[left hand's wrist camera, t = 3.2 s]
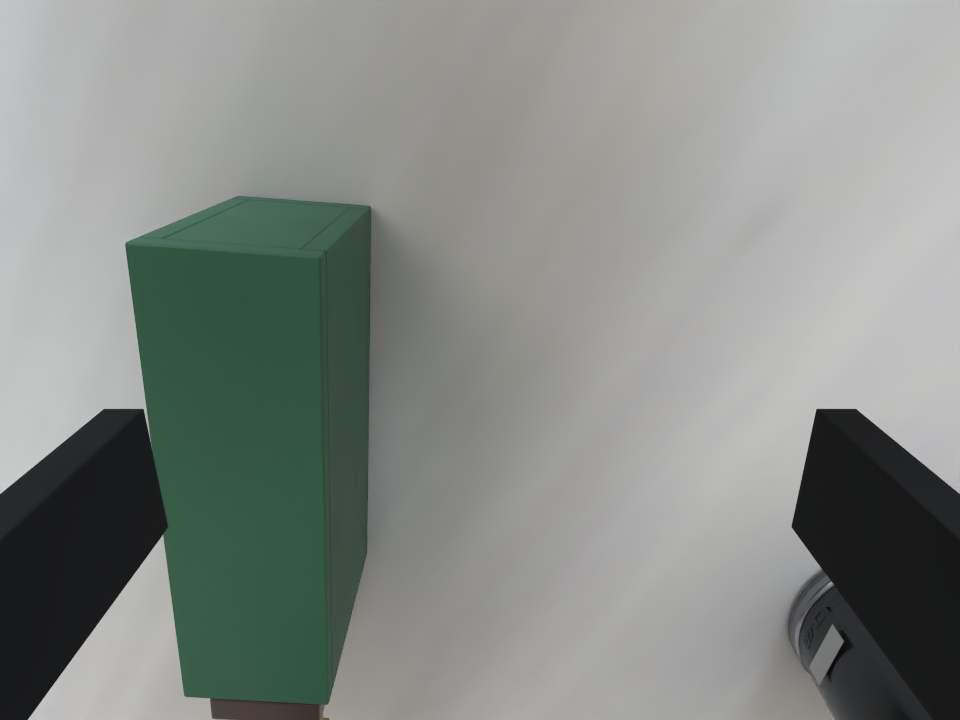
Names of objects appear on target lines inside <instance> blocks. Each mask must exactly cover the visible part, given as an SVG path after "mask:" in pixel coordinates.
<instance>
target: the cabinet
mask: <svg viewBox="0 0 960 720" xmlns="http://www.w3.org/2000/svg"><path fill="white" fill-rule="evenodd" d="M125 246H126V253H127V261H128V269H129V276H130V284H131V292H132V299H133V307H134V314H135V322H136V330H137V337H138V345H139V353H140V360H141V368H142V375H143V383H144V391H145V398H146V406H147V414H148V421H149V429H150V437H151V444H152V452H153V457H154V461H155V466H156V471H157V476H158V480H159V485H160V490H161V494H162V499H163V504H164V509H165V513H166V518H167V523H168V528H167V530H166V531H165V532H164V534H163V536H164V543H165V551H166V559H167V566H168V574H169V581H170V589H171V597H172V604H173V612H174V620H175V627H176V635H177V643H178V650H179V658H180V665H181V673H182V681H183V688H184V696H186V697H199V698H216V699H234V700H251V701H269V702H286V703H304V704H321V705H327V704H328V703H329V700H330V696H331V692H332V688H333V685H334V681H335V677H336V673H337V669H338V665H339V661H340V657H341V653H342V649H343V645H344V641H345V637H346V633H347V629H348V626H349V622H350V618H351V614H352V610H353V606H354V602H355V598H356V594H357V590H358V586H359V582H360V578H361V574H362V570H363V566H364V562H365V558H366V554H367V502H368V418H369V334H370V249H371V207H370V206H361V205H348V204H335V203H322V202H309V201H296V200H283V199H269V198H256V197H243V196H237V197H235V198H232V199H230V200H227V201H225V202H222V203H220V204H218V205H215V206H213V207H210V208H208V209H206V210H203V211H201V212H198V213H196V214H193V215H191V216H189V217H186V218H184V219H181V220H179V221H176V222H174V223H172V224H169V225H167V226H164V227H162V228H160V229H157V230H155V231H152V232H150V233H147V234H145V235H143V236H140V237H139V238H135V239H133V240H130V241H128V242H126V244H125Z"/></svg>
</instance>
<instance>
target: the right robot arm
mask: <svg viewBox="0 0 960 720" xmlns="http://www.w3.org/2000/svg"><path fill="white" fill-rule="evenodd" d="M789 637H790V641H791V644H792V647H793V649H794V651H795V653H796V654H797V656H798V658H799V660H800V662H801V663H802V665H803V667H804V668H805V669H806V671H807V672H808V673H809V674H810V675H811V677H812V679H813V681H814V682H815V684H816V686H817V688H818V689H819V691H820V693H821V695H822V697H823V698H824V700H825V702H826V704H827V706H828V708H829V710H830V711H831V713H832V715H833V717H834V719H835V720H932V718H931V717H930V716H929V714H928V713H927V712H926V710H925V709H924V708H923V706H922V705H921V703H920V702H919V701H918V699H917V698H916V697H915V695H914V694H913V692H912V691H911V690H910V688H909V687H908V686H907V684H906V683H905V682H904V680H903V679H902V677H901V676H900V675H899V673H898V672H897V671H896V669H895V668H894V666H893V665H892V664H891V662H890V661H889V660H888V658H887V657H886V656H885V654H884V653H883V651H882V650H881V649H880V647H879V646H878V645H877V643H876V642H875V640H874V639H873V638H872V636H871V635H870V634H869V632H868V631H867V630H866V628H865V627H864V625H863V624H862V623H861V621H860V620H859V619H858V617H857V616H856V615H855V613H854V612H853V610H852V609H851V608H850V606H849V605H848V604H847V602H846V601H845V599H844V598H843V597H842V595H841V594H840V593H839V591H838V590H837V589H836V587H835V586H834V584H833V583H832V582H831V580H830V579H829V578H828V576H827V575H826V573H825V572H823V573H822V574H821V575H819V576H818V577H817V578H816V579H814V580H813V581H812V582H811V583H810V584H809V585H808V586H807V588H806V589H805V590H804V591H803V592H802V594H801V595H800V596H799V598H798V600H797V601H796V603H795V605H794V607H793V610H792V613H791V616H790V621H789Z"/></svg>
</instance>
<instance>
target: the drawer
mask: <svg viewBox="0 0 960 720" xmlns="http://www.w3.org/2000/svg"><path fill="white" fill-rule="evenodd" d="M210 702H211V711H212V718H213V719H226V720H329V718H323V710H324V706H325V705H321V704H304V703H286V702H269V701H251V700H234V699H216V698H211V699H210Z"/></svg>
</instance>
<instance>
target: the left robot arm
mask: <svg viewBox="0 0 960 720" xmlns="http://www.w3.org/2000/svg"><path fill="white" fill-rule="evenodd" d="M167 528H168V523H167V518H166V513H165V509H164V504H163V499H162V494H161V490H160V485H159V480H158V476H157V471H156V466H155V461H154V457H153V452H152V447H151V443H150V438H149V433H148V428H147V424H146V419H145V414H144V410H143V409H104V410H102V411H101V412H100V413H99V414H97V415H96V416H95V417H94V418H93V419H91V420H90V421H89V422H88V423H87V424H85V425H84V426H83V427H82V428H80V429H79V430H78V431H77V432H76V433H74V434H73V435H72V436H71V437H69V438H68V439H67V440H66V441H65V442H63V443H62V444H61V445H60V446H58V447H57V448H56V449H55V450H54V451H52V452H51V453H50V454H49V455H48V456H46V457H45V458H44V459H43V460H41V461H40V462H39V463H38V464H37V465H35V466H34V467H33V468H32V469H30V470H29V471H28V472H27V473H26V474H24V475H23V476H22V477H21V478H19V479H18V480H17V481H16V482H15V483H13V484H12V485H11V486H10V487H9V488H7V489H6V490H5V491H4V492H2V493H1V494H0V720H28V718H29V717H30V716H31V714H32V713H33V712H34V710H35V709H36V708H37V706H38V705H39V703H40V702H41V701H42V699H43V698H44V697H45V695H46V694H47V692H48V691H49V690H50V688H51V687H52V686H53V684H54V683H55V682H56V680H57V679H58V677H59V676H60V675H61V673H62V672H63V671H64V669H65V668H66V666H67V665H68V664H69V662H70V661H71V660H72V658H73V657H74V656H75V654H76V653H77V651H78V650H79V649H80V647H81V646H82V645H83V643H84V642H85V640H86V639H87V638H88V636H89V635H90V634H91V632H92V631H93V630H94V628H95V627H96V625H97V624H98V623H99V621H100V620H101V619H102V617H103V616H104V614H105V613H106V612H107V610H108V609H109V608H110V606H111V605H112V604H113V602H114V601H115V599H116V598H117V597H118V595H119V594H120V593H121V591H122V590H123V588H124V587H125V586H126V584H127V583H128V582H129V580H130V579H131V578H132V576H133V575H134V573H135V572H136V571H137V569H138V568H139V567H140V565H141V564H142V563H143V561H144V560H145V558H146V557H147V556H148V554H149V553H150V552H151V550H152V549H153V547H154V546H155V545H156V543H157V542H158V541H159V539H160V538H161V537H162V535H163V534H164V532H165V531H166V530H167ZM792 528H793V530H794V531H795V532H796V534H797V535H798V537H799V538H800V539H801V541H802V542H803V543H804V545H805V546H806V547H807V549H808V550H809V552H810V553H811V554H812V556H813V557H814V558H815V560H816V561H817V563H818V564H819V565H820V567H821V568H822V569H823V571H824V572H825V573H826V575H827V576H828V578H829V579H830V580H831V582H832V583H833V584H834V586H835V587H836V589H837V590H838V591H839V593H840V594H841V595H842V597H843V598H844V599H845V601H846V602H847V604H848V605H849V606H850V608H851V609H852V610H853V612H854V613H855V615H856V616H857V617H858V619H859V620H860V621H861V623H862V624H863V625H864V627H865V628H866V630H867V631H868V632H869V634H870V635H871V636H872V638H873V639H874V640H875V642H876V643H877V645H878V646H879V647H880V649H881V650H882V651H883V653H884V654H885V656H886V657H887V658H888V660H889V661H890V662H891V664H892V665H893V666H894V668H895V669H896V671H897V672H898V673H899V675H900V676H901V677H902V679H903V680H904V682H905V683H906V684H907V686H908V687H909V688H910V690H911V691H912V692H913V694H914V695H915V697H916V698H917V699H918V701H919V702H920V703H921V705H922V706H923V708H924V709H925V710H926V712H927V713H928V714H929V716H930V717H931V718H932V720H960V494H959V493H958V492H956V491H955V490H954V489H953V488H951V487H950V486H949V485H948V484H947V483H945V482H944V481H943V480H942V479H941V478H939V477H938V476H937V475H936V474H934V473H933V472H932V471H931V470H930V469H928V468H927V467H926V466H925V465H923V464H922V463H921V462H920V461H919V460H917V459H916V458H915V457H914V456H912V455H911V454H910V453H909V452H908V451H906V450H905V449H904V448H903V447H902V446H900V445H899V444H898V443H897V442H895V441H894V440H893V439H892V438H891V437H889V436H888V435H887V434H886V433H884V432H883V431H882V430H881V429H880V428H878V427H877V426H876V425H875V424H873V423H872V422H871V421H870V420H869V419H867V418H866V417H865V416H864V415H863V414H861V413H860V412H859V411H858V410H856V409H817V410H816V414H815V419H814V424H813V428H812V433H811V438H810V443H809V447H808V452H807V457H806V461H805V466H804V471H803V476H802V480H801V485H800V490H799V494H798V499H797V504H796V509H795V513H794V518H793V523H792Z"/></svg>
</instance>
